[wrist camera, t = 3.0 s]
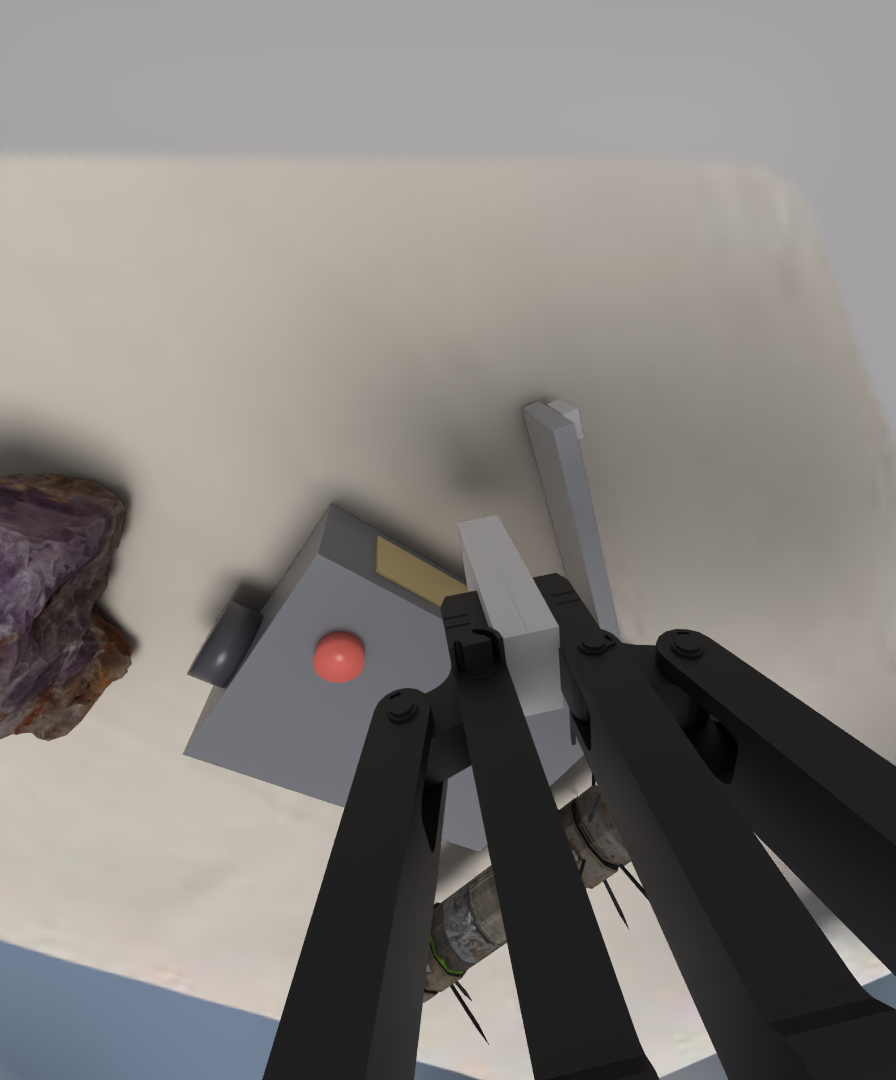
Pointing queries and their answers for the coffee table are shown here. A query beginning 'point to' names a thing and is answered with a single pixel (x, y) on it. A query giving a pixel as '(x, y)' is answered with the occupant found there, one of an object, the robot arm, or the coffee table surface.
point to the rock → (55, 602)
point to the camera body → (340, 670)
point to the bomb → (474, 912)
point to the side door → (571, 504)
